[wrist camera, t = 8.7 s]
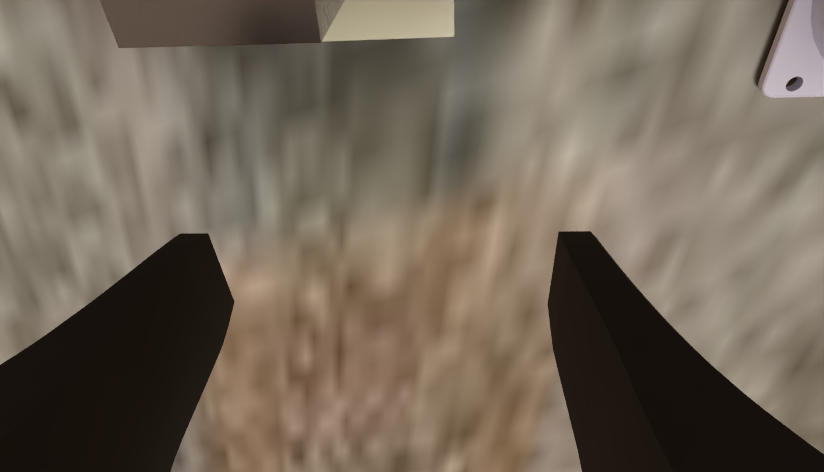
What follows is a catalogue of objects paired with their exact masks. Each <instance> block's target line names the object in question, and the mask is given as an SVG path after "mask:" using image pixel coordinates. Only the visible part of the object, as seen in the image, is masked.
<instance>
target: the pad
mask: <svg viewBox="0 0 824 472" xmlns="http://www.w3.org/2000/svg"><path fill="white" fill-rule="evenodd" d="M432 37H454V0H345V1H344V3H343V4H342V6H341V8H340V10H339V11H338V13H337V15H336V17H335V19H334V20H333V22H332V24H331V26H330V28H329V29H328V31H327V33H326V35H325V36H324V38H323V40H322V41H349V40H377V39H404V38H432Z"/></svg>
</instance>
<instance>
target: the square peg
mask: <svg viewBox="0 0 824 472" xmlns="http://www.w3.org/2000/svg"><path fill="white" fill-rule="evenodd" d="M100 1H101V4H102V6H103V9H104V11H105V14H106V16H107V19H108V22H109V24H110V27H111V29H112V32H113V34H114V37H115V39H116V42H117V44H118V47H119V48H138V47H175V46H212V45H249V44H286V43H321V42H322V40H323V38H324V36H325V35H326V33H327V31H328V29H329V28H330V26H331V24H332V22H333V20H334V19H335V17H336V15H337V13H338V11H339V10H340V8H341V6H342V4H343V3H344V1H345V0H100Z"/></svg>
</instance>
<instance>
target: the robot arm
mask: <svg viewBox="0 0 824 472" xmlns="http://www.w3.org/2000/svg"><path fill="white" fill-rule="evenodd" d="M794 77H797V80H796V81H795V83H794V84H792V85H791V86H787V87H786V84H787V82H788V81H789V80H790V79H792V78H794ZM758 87H759V90H760V91H761V92H762V93H763V94H764V95H766V96H767V97H771V98H783V97H823V96H824V0H789V1H788V4H787V7H786V9H785V12H784V15H783V17H782V20H781V23H780V26H779V28H778V31H777V34H776V36H775V39H774V42H773V44H772V47H771V50H770V52H769V55H768V58H767V61H766V63H765V66H764V69H763V71H762V74H761V77H760V79H759V84H758ZM233 305H234V300H233V297H232V295H231V292H230V289H229V287H228V284H227V282H226V279H225V276H224V274H223V271H222V269H221V266H220V263H219V261H218V258H217V256H216V253H215V250H214V248H213V245H212V242H211V240H210V237H209V235H208V234H179V235H178V236H176V237H175V238H173V239H172V240H170V241H169V242H168V243H166V244H165V245H164V246H162V247H161V248H160V249H159V250H157V251H156V252H155V253H153V254H152V255H151V256H150V257H148V258H147V259H146V260H144V261H143V262H142V263H141V264H139V265H138V266H137V267H136V268H134V269H133V270H132V271H131V272H129V273H128V274H127V275H125V276H124V277H123V278H122V279H120V280H119V281H118V282H117V283H115V284H114V285H113V286H111V287H110V288H109V289H108V290H106V291H105V292H104V293H102V294H101V295H100V296H99V297H97V298H96V299H95V300H93V301H92V302H91V303H89V304H88V305H87V306H85V307H84V308H82V309H81V310H80V311H78V312H77V313H76V314H74V315H73V316H71V317H70V318H69V319H67V320H66V321H65V322H63V323H62V324H60V325H59V326H58V327H56V328H55V329H54V330H52V331H51V332H49V333H48V334H47V335H45V336H44V337H42V338H41V339H39V340H38V341H36V342H35V343H34V344H32V345H31V346H29V347H27V348H26V349H24V350H23V351H21V352H20V353H18V354H17V355H15V356H14V357H12V358H10V359H9V360H7V361H6V362H4V363H2V364H1V365H0V472H170V471H171V468H172V465H173V462H174V459H175V456H176V454H177V451H178V449H179V446H180V443H181V441H182V438H183V436H184V434H185V431H186V429H187V427H188V425H189V422H190V420H191V418H192V415H193V413H194V411H195V409H196V406H197V404H198V402H199V399H200V397H201V395H202V392H203V390H204V388H205V386H206V383H207V381H208V379H209V376H210V374H211V372H212V369H213V367H214V365H215V362H216V360H217V357H218V355H219V353H220V350H221V348H222V345H223V342H224V339H225V335H226V332H227V329H228V325H229V321H230V317H231V313H232V309H233ZM548 310H549V319H550V328H551V336H552V344H553V351H554V355H555V359H556V363H557V367H558V372H559V376H560V380H561V384H562V388H563V392H564V396H565V400H566V404H567V408H568V412H569V416H570V420H571V424H572V429H573V433H574V437H575V441H576V445H577V449H578V453H579V458H580V463H581V468H582V472H824V454H823V453H821V452H820V451H818V450H817V449H816V448H814V447H813V446H811V445H810V444H809V443H807V442H806V441H805V440H803V439H802V438H801V437H799V436H798V435H797V434H795V433H794V432H793V431H791V430H790V429H789V428H787V427H786V426H785V425H783V424H782V423H781V422H780V421H778V420H777V419H776V418H774V417H773V416H772V415H770V414H769V413H768V412H766V411H765V410H764V409H763V408H761V407H760V406H759V405H758V404H756V403H755V402H754V401H753V400H751V399H750V398H749V397H748V396H746V395H745V394H744V393H743V392H742V391H740V390H739V389H738V388H737V387H736V386H735V385H734V384H732V383H731V382H730V381H729V380H728V379H727V378H726V377H724V376H723V375H722V374H721V373H720V372H719V371H717V370H716V369H715V368H714V367H713V366H712V365H711V364H710V363H709V362H707V361H706V360H705V359H704V358H703V357H702V356H701V355H700V354H699V353H698V352H697V351H696V350H695V349H694V348H693V347H692V346H691V345H690V344H689V343H688V342H687V341H686V340H685V339H684V338H683V337H682V336H681V335H680V334H679V333H678V332H677V331H676V330H675V329H674V328H673V327H672V326H671V325H670V324H669V323H668V322H667V321H666V320H665V319H664V318H663V316H662V315H661V314H660V313H659V312H658V311H657V310H656V309H655V308H654V307H653V305H652V304H651V303H650V302H649V301H648V300H647V299H646V298H645V297H644V295H643V294H642V293H641V292H640V291H639V290H638V289H637V287H636V286H635V285H634V284H633V283H632V282H631V280H630V279H629V278H628V277H627V276H626V274H625V273H624V272H623V271H622V270H621V268H620V267H619V266H618V265H617V263H616V262H615V261H614V260H613V258H612V257H611V256H610V255H609V253H608V252H607V251H606V250H605V248H604V247H603V246H602V245H601V243H600V242H599V241H598V239H597V238H596V237H595V236H594V235H593V234H592V233H591V232H590V231H586V232H559V233H558V240H557V246H556V253H555V259H554V266H553V273H552V279H551V286H550V292H549V299H548Z"/></svg>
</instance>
